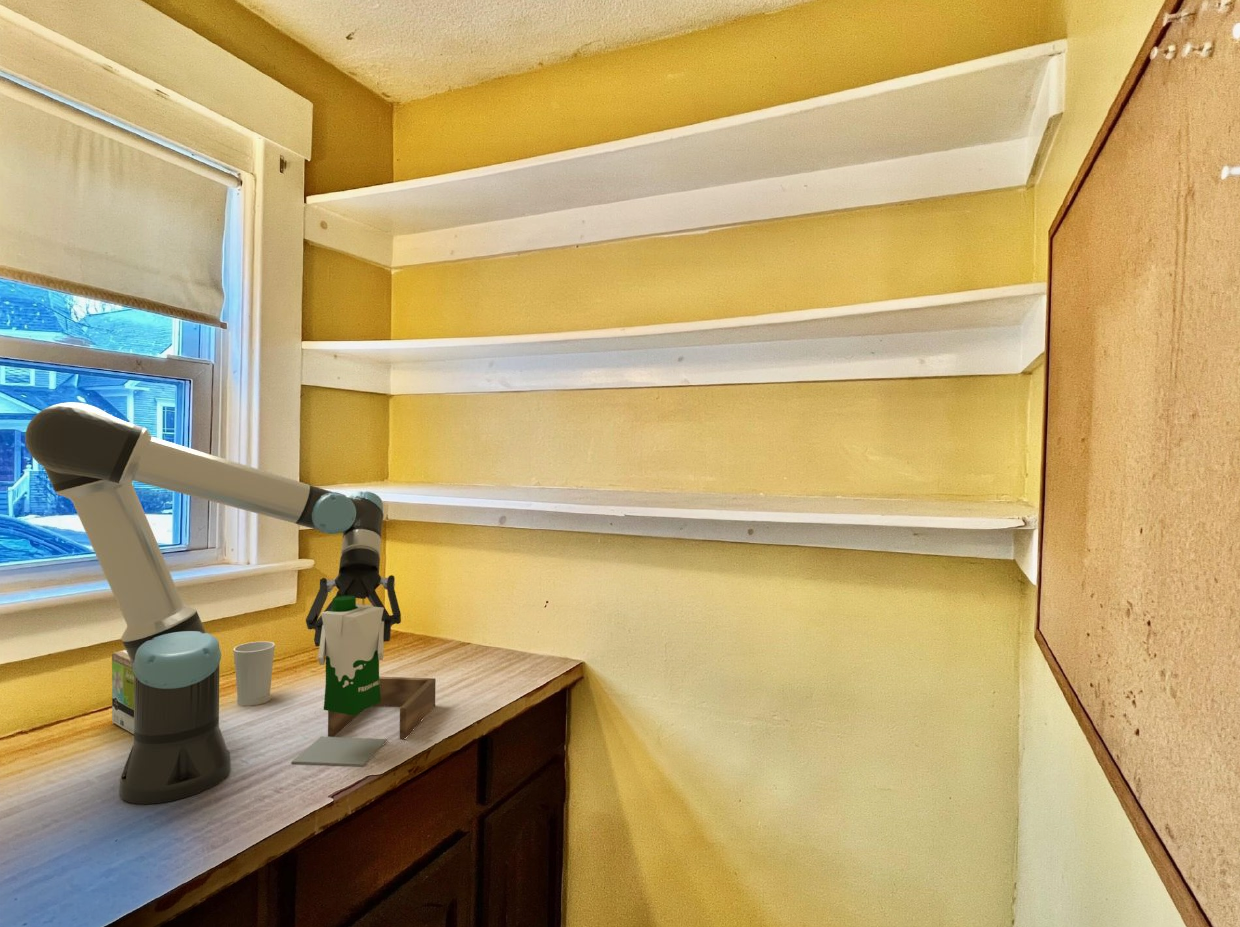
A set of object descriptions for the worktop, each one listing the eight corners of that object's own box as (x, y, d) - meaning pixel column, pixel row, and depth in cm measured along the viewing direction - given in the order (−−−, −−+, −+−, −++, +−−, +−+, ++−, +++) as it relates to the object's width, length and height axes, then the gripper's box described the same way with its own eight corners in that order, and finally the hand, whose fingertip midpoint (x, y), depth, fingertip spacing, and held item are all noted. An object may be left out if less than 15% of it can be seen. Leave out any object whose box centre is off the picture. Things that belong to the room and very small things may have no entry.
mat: (291, 763, 111) (291, 761, 111) (321, 738, 121) (321, 736, 121) (363, 766, 110) (363, 764, 110) (387, 741, 120) (387, 739, 120)
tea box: (109, 724, 126) (110, 651, 126) (166, 707, 135) (167, 639, 135) (143, 743, 118) (144, 664, 118) (201, 724, 127) (202, 651, 127)
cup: (277, 692, 144) (278, 640, 144) (269, 705, 137) (270, 650, 137) (238, 695, 142) (238, 642, 142) (228, 709, 134) (228, 653, 134)
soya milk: (351, 694, 122) (351, 592, 122) (389, 700, 119) (389, 595, 119) (315, 711, 114) (315, 601, 114) (354, 719, 111) (355, 606, 111)
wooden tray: (327, 736, 122) (328, 705, 122) (366, 703, 139) (366, 676, 139) (405, 739, 121) (405, 708, 121) (435, 705, 138) (435, 678, 138)
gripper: (416, 565, 134) (415, 663, 119) (303, 570, 128) (286, 674, 113) (416, 544, 129) (414, 643, 114) (298, 548, 123) (280, 653, 108)
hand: (351, 658), depth 114 cm, fingers closed on soya milk, 9 cm apart
